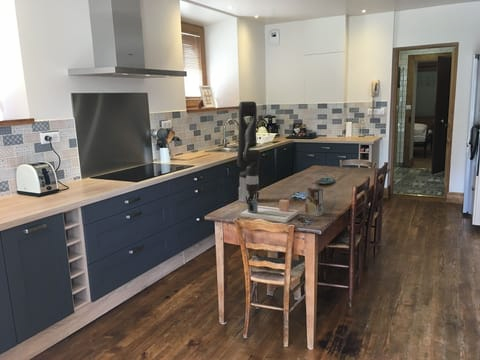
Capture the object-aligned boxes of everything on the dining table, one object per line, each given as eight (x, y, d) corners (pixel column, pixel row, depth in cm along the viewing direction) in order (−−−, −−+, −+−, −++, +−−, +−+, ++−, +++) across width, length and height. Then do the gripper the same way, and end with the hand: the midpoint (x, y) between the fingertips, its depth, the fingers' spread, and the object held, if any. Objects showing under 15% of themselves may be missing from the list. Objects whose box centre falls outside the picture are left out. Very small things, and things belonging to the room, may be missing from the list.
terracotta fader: (279, 210, 256) (279, 200, 255) (281, 208, 259) (281, 199, 258) (286, 211, 254) (286, 201, 253) (288, 209, 257) (288, 200, 256)
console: (241, 215, 254) (240, 212, 254) (255, 208, 271) (255, 205, 271) (286, 222, 240) (286, 218, 239) (298, 213, 257) (298, 210, 256)
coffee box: (323, 214, 255) (323, 188, 252) (318, 216, 250) (319, 190, 247) (309, 212, 260) (309, 187, 257) (305, 214, 255) (305, 189, 252)
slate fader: (247, 211, 254) (247, 202, 252) (250, 210, 257) (250, 201, 255) (255, 212, 251) (254, 203, 250) (257, 211, 254) (257, 202, 253)
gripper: (252, 180, 258) (252, 206, 262) (241, 184, 246) (241, 212, 249) (263, 181, 255) (263, 207, 258) (252, 185, 242) (252, 213, 246)
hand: (252, 209), depth 254 cm, fingers closed on slate fader, 3 cm apart
